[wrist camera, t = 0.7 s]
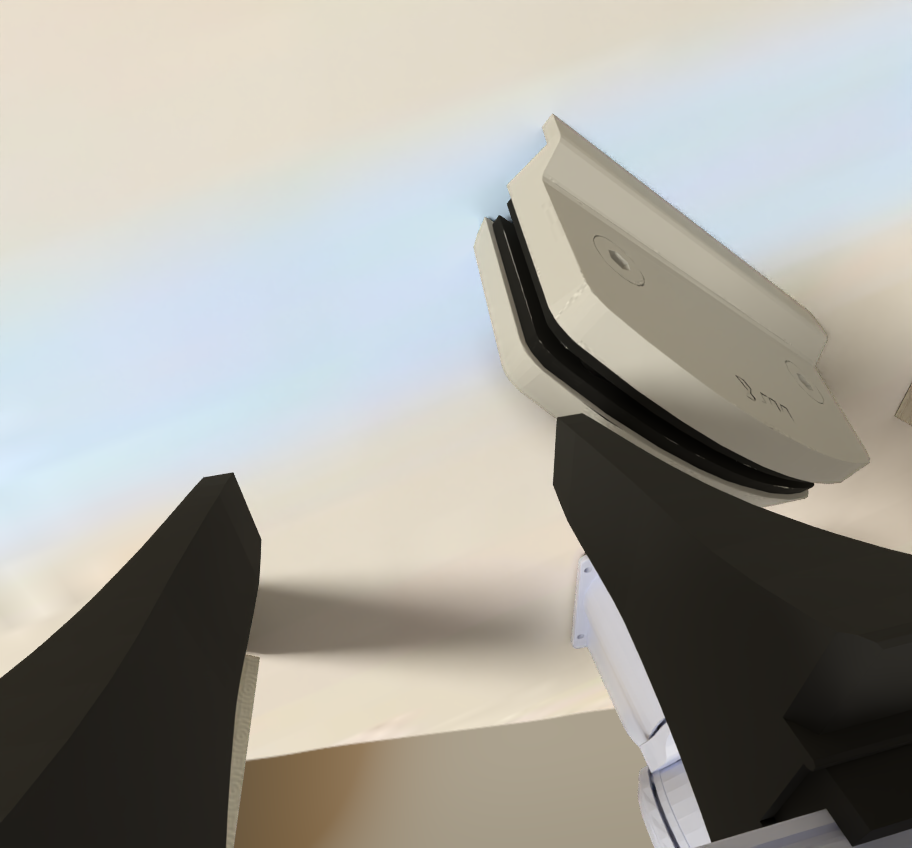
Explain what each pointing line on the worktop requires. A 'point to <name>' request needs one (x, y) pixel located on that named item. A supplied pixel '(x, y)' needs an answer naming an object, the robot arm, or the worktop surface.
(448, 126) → the worktop surface
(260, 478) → the worktop surface
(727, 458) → the beige piece
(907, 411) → the fixed leaf
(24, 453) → the worktop surface
